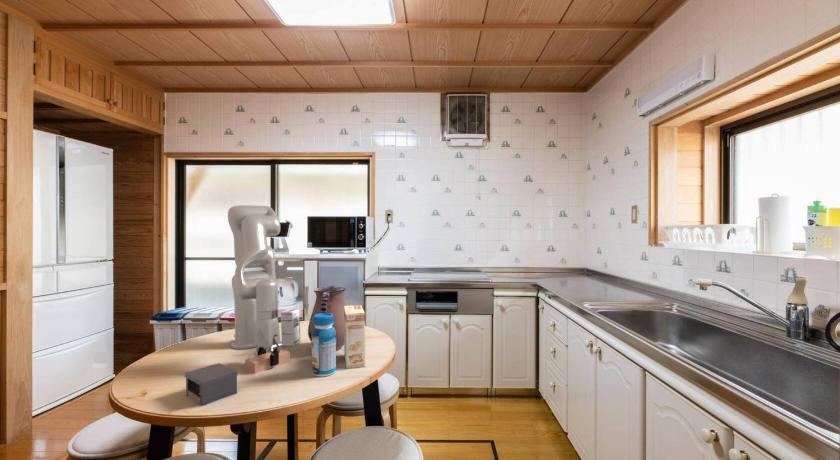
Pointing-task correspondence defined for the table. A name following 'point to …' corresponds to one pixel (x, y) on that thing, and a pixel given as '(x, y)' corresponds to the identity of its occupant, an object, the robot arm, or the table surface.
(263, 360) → the terracotta slab
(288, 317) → the syrup box
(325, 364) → the beverage bottle
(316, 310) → the ceramic pitcher
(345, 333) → the coffeecake box
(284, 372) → the table surface
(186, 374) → the grey open-ended tunnel
